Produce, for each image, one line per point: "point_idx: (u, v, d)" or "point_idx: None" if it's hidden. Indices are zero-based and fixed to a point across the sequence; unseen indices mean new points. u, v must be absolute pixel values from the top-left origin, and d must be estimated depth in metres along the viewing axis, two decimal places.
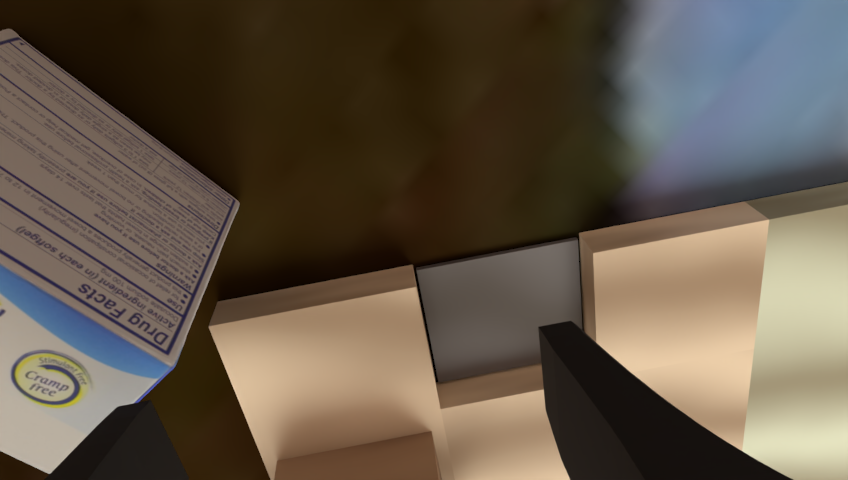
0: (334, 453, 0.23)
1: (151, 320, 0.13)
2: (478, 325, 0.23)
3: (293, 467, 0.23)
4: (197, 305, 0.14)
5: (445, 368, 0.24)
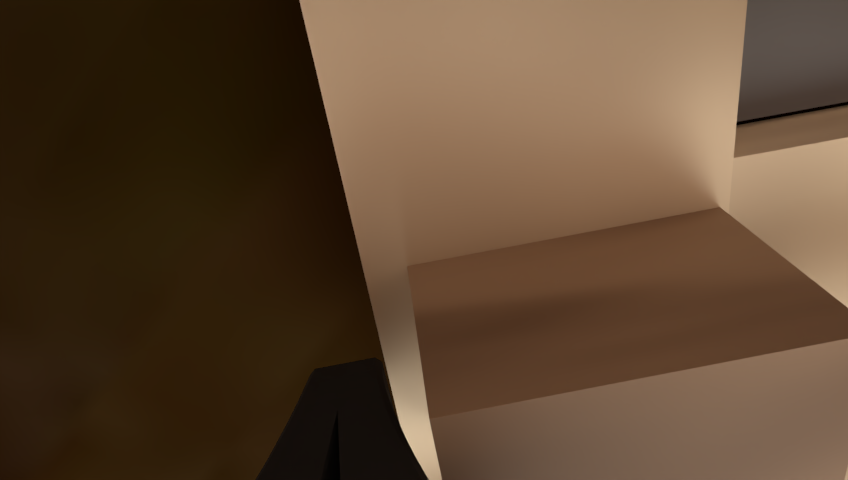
0: (526, 248, 0.11)
1: None
2: None
3: (446, 272, 0.11)
4: None
5: None
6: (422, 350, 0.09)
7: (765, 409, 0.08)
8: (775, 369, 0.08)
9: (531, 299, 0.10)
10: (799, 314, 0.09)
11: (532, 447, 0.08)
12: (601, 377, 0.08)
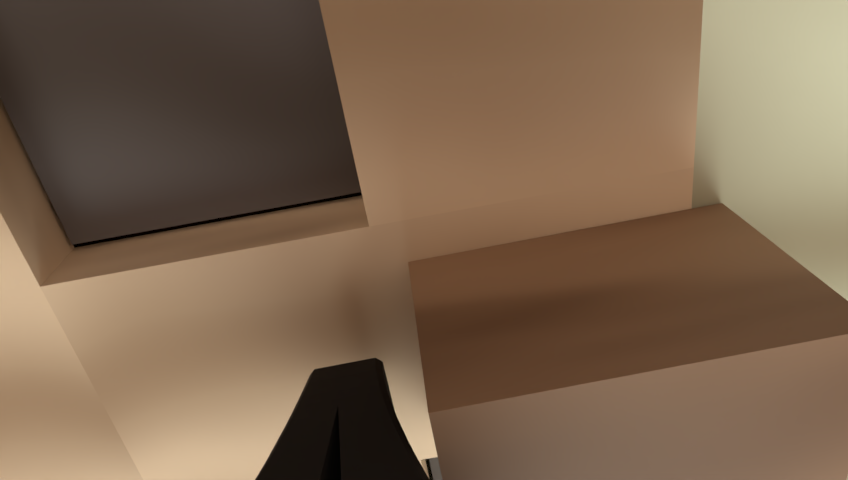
0: (527, 244, 0.11)
1: None
2: (120, 112, 0.11)
3: (447, 268, 0.11)
4: None
5: (77, 213, 0.12)
6: (422, 345, 0.09)
7: (766, 405, 0.08)
8: (776, 366, 0.08)
9: (531, 294, 0.10)
10: (801, 309, 0.09)
11: (531, 443, 0.08)
12: (601, 371, 0.08)
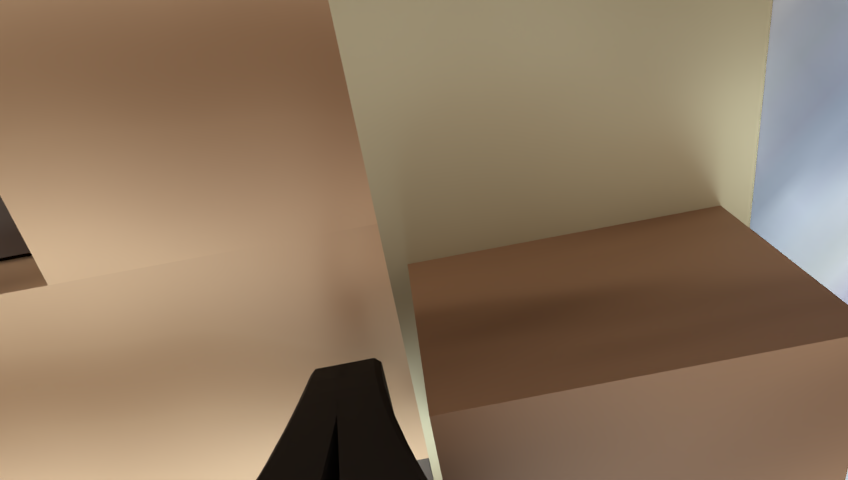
0: (526, 247, 0.11)
1: None
2: None
3: (446, 270, 0.11)
4: None
5: None
6: (422, 348, 0.09)
7: (766, 408, 0.08)
8: (776, 367, 0.08)
9: (532, 297, 0.10)
10: (799, 313, 0.09)
11: (532, 445, 0.08)
12: (602, 374, 0.08)
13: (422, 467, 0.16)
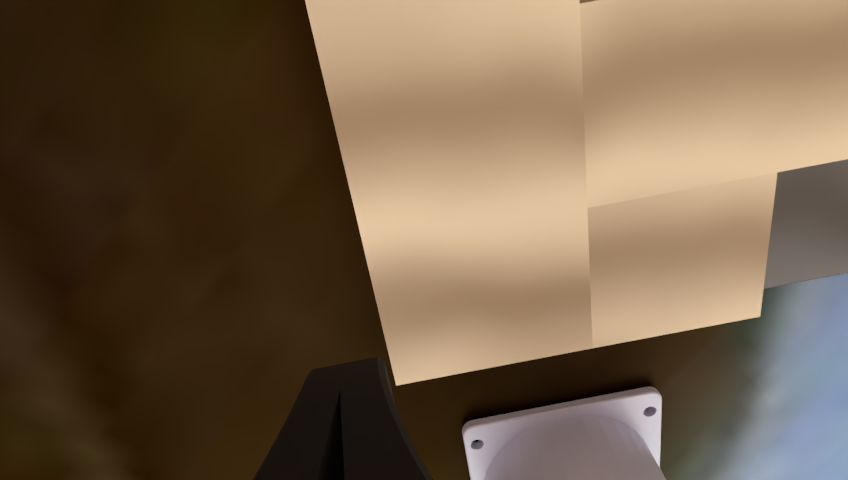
0: None
1: None
2: None
3: None
4: None
5: None
6: None
7: None
8: None
9: None
10: None
11: None
12: None
13: None
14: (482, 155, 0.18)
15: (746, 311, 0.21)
